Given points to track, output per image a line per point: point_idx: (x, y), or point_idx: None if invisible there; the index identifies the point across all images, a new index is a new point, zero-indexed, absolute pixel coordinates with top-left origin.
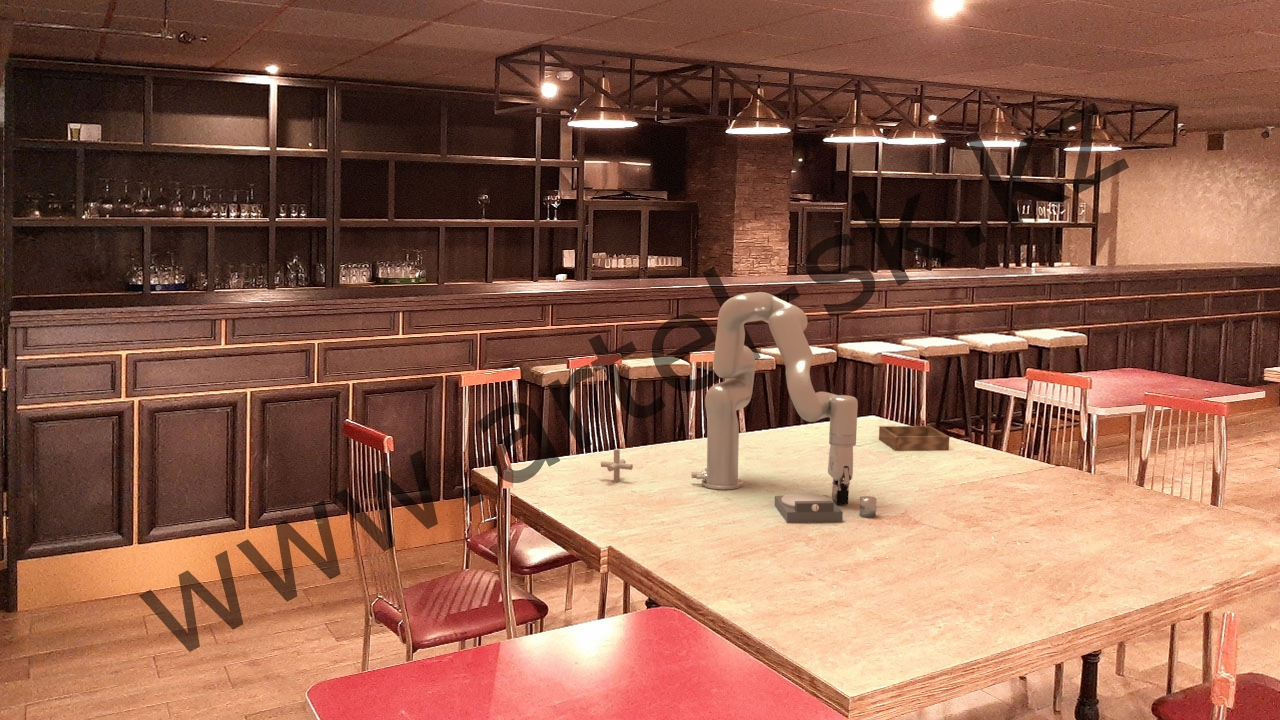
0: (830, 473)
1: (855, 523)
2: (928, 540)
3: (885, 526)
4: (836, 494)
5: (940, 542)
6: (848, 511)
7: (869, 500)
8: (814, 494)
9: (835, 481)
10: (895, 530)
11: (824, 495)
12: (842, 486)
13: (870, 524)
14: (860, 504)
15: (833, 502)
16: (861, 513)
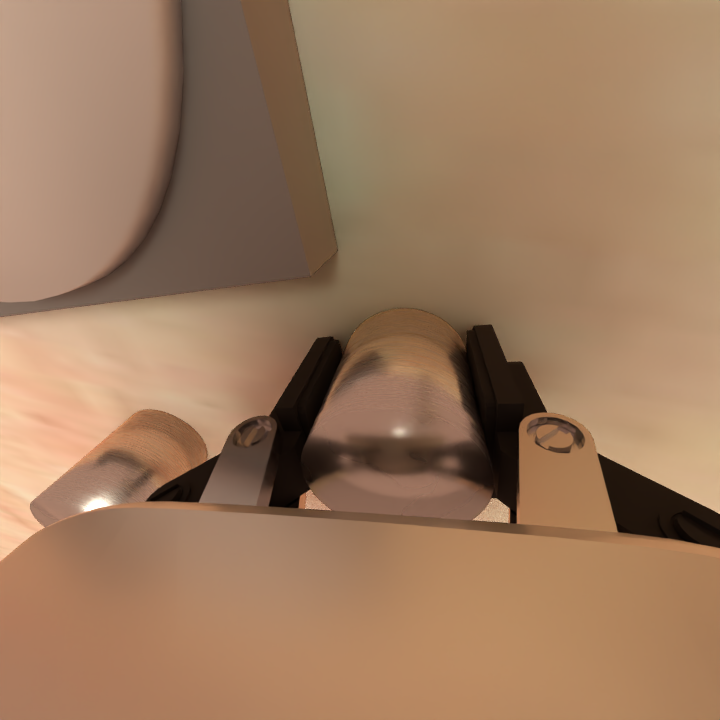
0: (433, 597)
1: (5, 365)
2: (5, 514)
3: (55, 460)
4: (336, 375)
5: (12, 528)
6: (209, 374)
7: (41, 522)
8: (115, 60)
9: (519, 480)
10: (32, 474)
11: (289, 244)
12: (161, 487)
13: (41, 420)
14: (84, 462)
15: (66, 304)
16: (121, 425)
